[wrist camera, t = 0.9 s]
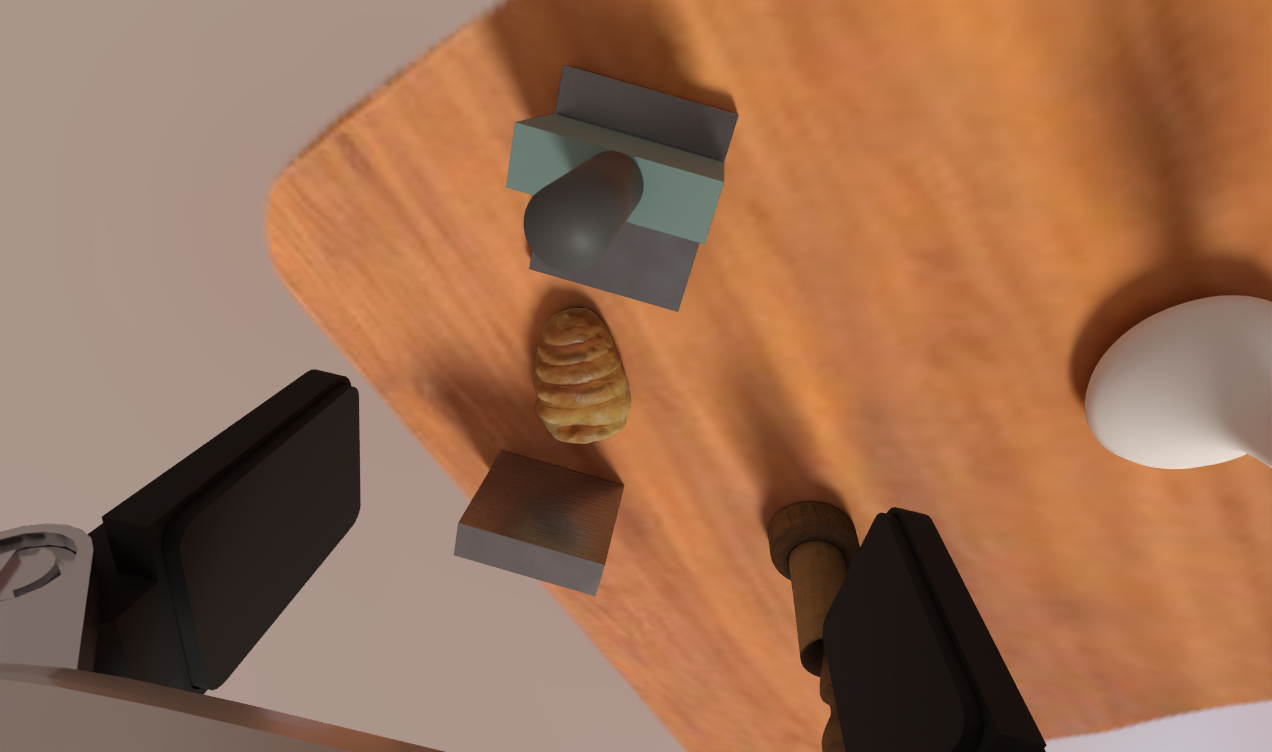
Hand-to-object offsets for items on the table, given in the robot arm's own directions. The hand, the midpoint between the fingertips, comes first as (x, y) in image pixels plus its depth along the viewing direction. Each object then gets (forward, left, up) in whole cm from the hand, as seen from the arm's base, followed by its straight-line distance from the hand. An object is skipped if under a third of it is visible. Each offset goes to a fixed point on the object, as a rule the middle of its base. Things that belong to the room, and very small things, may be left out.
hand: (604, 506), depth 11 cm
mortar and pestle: (+22, +16, -29) cm, 40 cm away
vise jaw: (-1, -4, -27) cm, 28 cm away
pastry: (+14, -4, -29) cm, 32 cm away
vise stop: (+24, -4, -29) cm, 37 cm away
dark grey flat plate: (+1, -4, -29) cm, 29 cm away
